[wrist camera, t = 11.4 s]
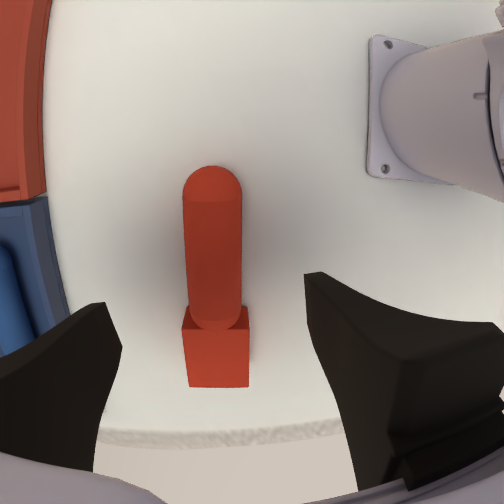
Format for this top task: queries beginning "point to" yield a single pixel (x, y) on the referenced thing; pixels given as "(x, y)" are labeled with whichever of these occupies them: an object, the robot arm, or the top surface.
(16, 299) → the blue block-ended rod
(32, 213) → the blue tray
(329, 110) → the top surface
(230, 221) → the red block-ended rod
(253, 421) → the top surface
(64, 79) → the top surface
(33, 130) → the red tray
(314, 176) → the top surface
